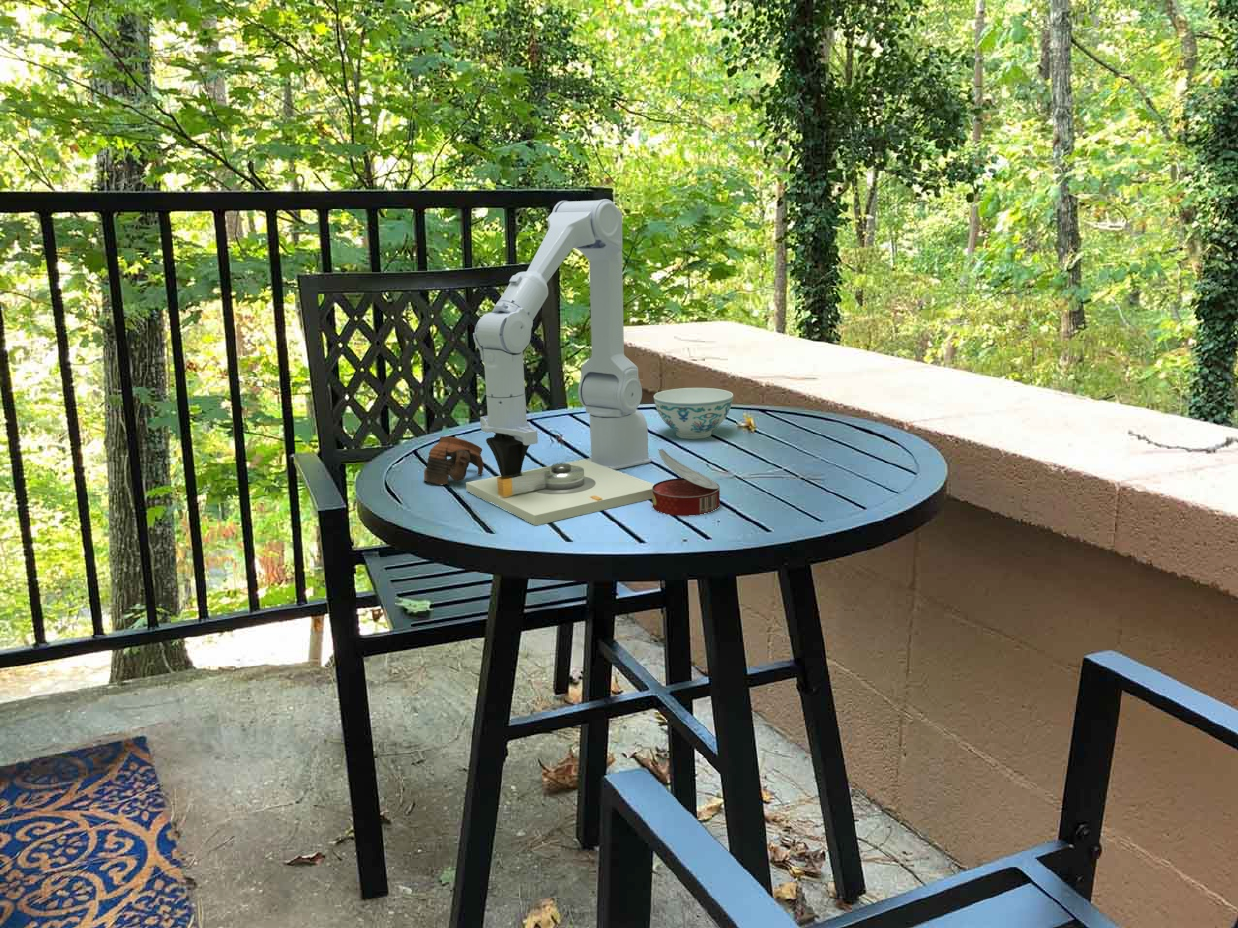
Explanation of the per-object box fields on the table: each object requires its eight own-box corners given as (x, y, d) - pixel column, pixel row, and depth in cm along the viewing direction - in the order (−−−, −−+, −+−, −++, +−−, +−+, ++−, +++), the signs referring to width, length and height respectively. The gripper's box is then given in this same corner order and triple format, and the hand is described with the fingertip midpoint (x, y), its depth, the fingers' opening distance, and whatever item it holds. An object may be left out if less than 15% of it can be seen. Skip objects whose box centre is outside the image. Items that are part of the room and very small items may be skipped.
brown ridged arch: (412, 481, 164) (427, 435, 166) (464, 498, 168) (478, 453, 170) (434, 479, 153) (449, 429, 155) (489, 497, 157) (503, 448, 159)
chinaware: (737, 442, 180) (736, 401, 178) (655, 445, 181) (654, 403, 179) (729, 425, 195) (729, 386, 193) (654, 427, 195) (653, 388, 193)
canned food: (673, 526, 150) (685, 463, 152) (728, 531, 144) (740, 465, 145) (628, 509, 142) (641, 442, 143) (684, 513, 135) (697, 443, 137)
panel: (584, 467, 167) (584, 458, 166) (662, 496, 149) (661, 485, 149) (466, 491, 155) (465, 481, 154) (535, 525, 137) (534, 514, 137)
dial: (569, 474, 156) (568, 457, 156) (593, 484, 151) (592, 466, 150) (490, 490, 149) (488, 473, 148) (512, 501, 143) (510, 482, 142)
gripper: (460, 391, 149) (466, 477, 153) (504, 405, 138) (510, 498, 141) (501, 385, 153) (507, 469, 156) (548, 398, 141) (552, 489, 145)
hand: (511, 482), depth 149 cm, fingers closed
